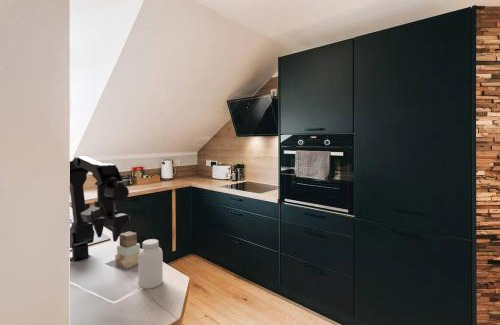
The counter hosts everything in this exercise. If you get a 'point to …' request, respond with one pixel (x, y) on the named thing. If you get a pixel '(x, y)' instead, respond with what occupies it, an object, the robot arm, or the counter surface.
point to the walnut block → (128, 239)
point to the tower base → (126, 260)
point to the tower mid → (128, 250)
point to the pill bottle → (150, 264)
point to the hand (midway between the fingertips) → (107, 239)
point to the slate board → (112, 263)
